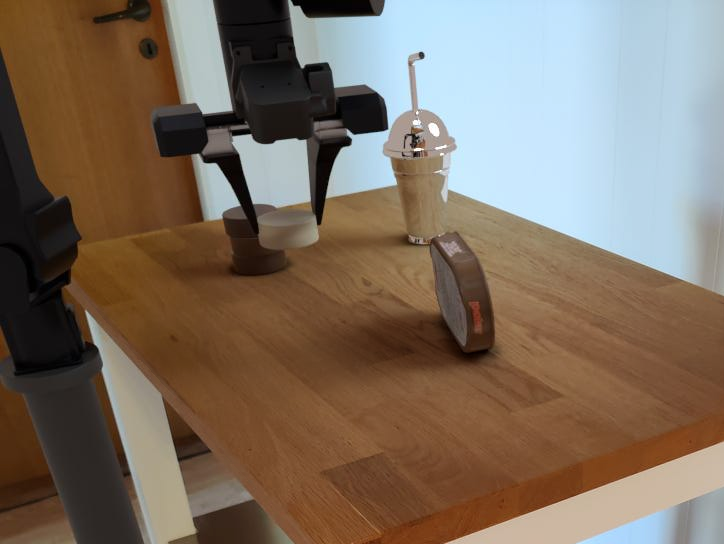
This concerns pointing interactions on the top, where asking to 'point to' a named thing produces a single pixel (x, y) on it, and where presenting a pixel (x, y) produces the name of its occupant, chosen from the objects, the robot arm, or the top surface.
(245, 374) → the top surface
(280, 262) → the chip pile
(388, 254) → the top surface
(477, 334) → the tin
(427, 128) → the cup with straw
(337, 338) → the top surface
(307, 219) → the birch chip
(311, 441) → the top surface
